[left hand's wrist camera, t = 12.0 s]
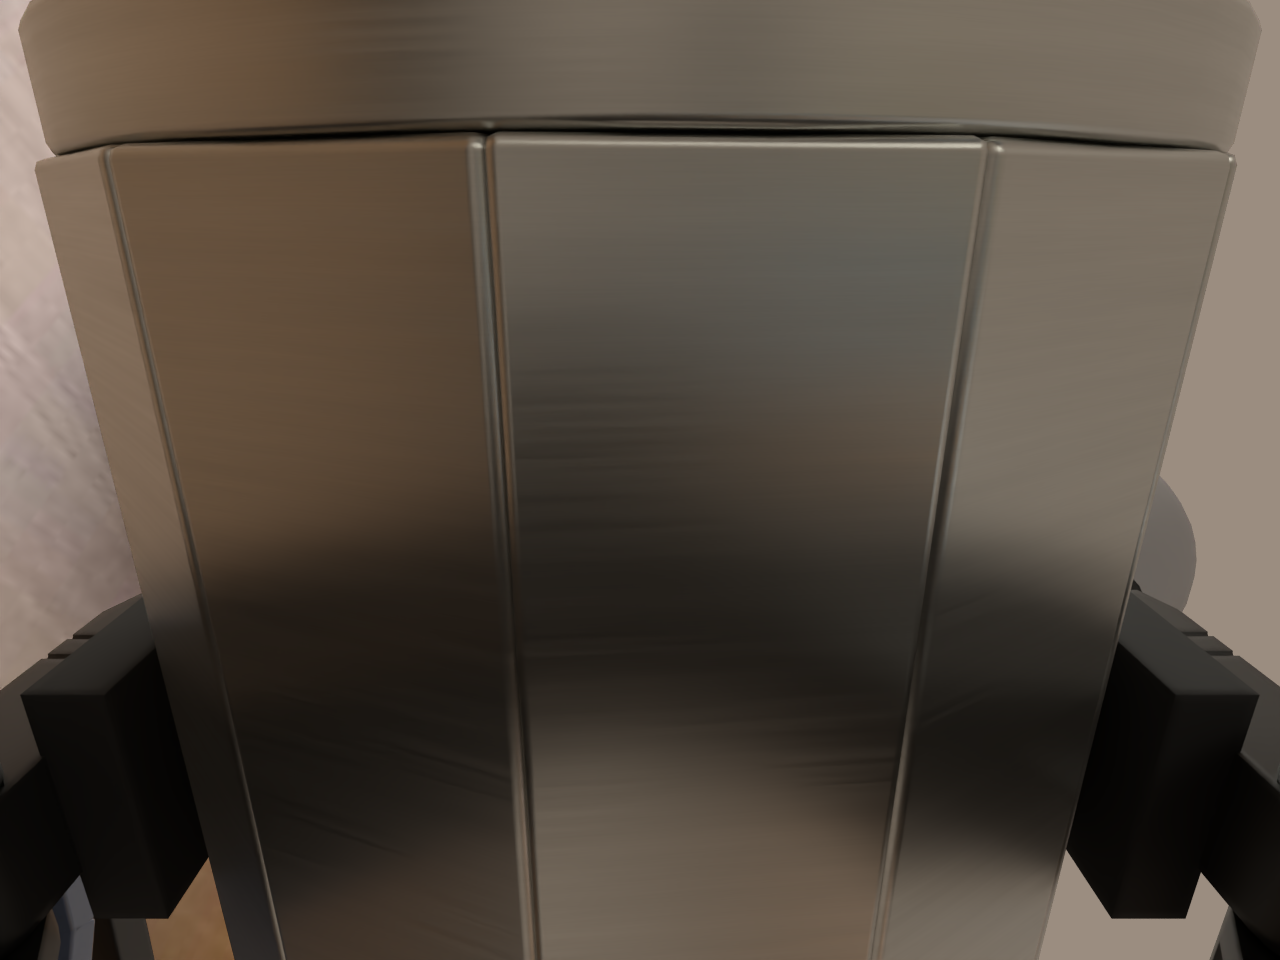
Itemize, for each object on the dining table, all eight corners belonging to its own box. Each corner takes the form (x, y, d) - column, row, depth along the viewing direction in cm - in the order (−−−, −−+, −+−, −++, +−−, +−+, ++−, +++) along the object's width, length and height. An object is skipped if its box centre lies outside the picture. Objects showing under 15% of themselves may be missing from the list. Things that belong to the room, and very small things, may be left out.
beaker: (2046, -182, 2) (1129, 1605, 6) (1002, 124, 11) (904, 779, 15) (-569, -53, 3) (97, 1386, 7) (390, 131, 12) (452, 737, 16)
